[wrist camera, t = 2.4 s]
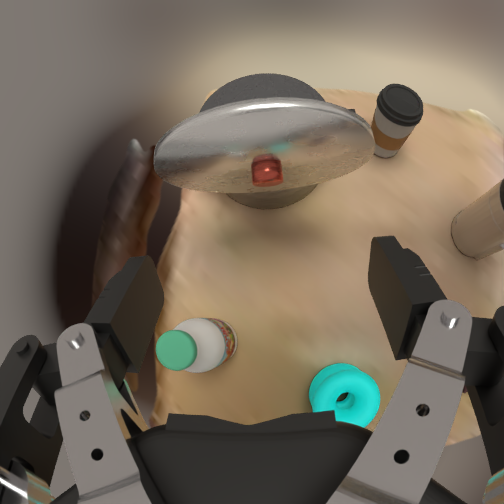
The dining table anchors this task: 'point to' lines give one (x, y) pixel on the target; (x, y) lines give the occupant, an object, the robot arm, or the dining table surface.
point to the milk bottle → (197, 345)
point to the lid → (263, 146)
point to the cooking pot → (265, 88)
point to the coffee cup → (395, 118)
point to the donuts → (340, 381)
